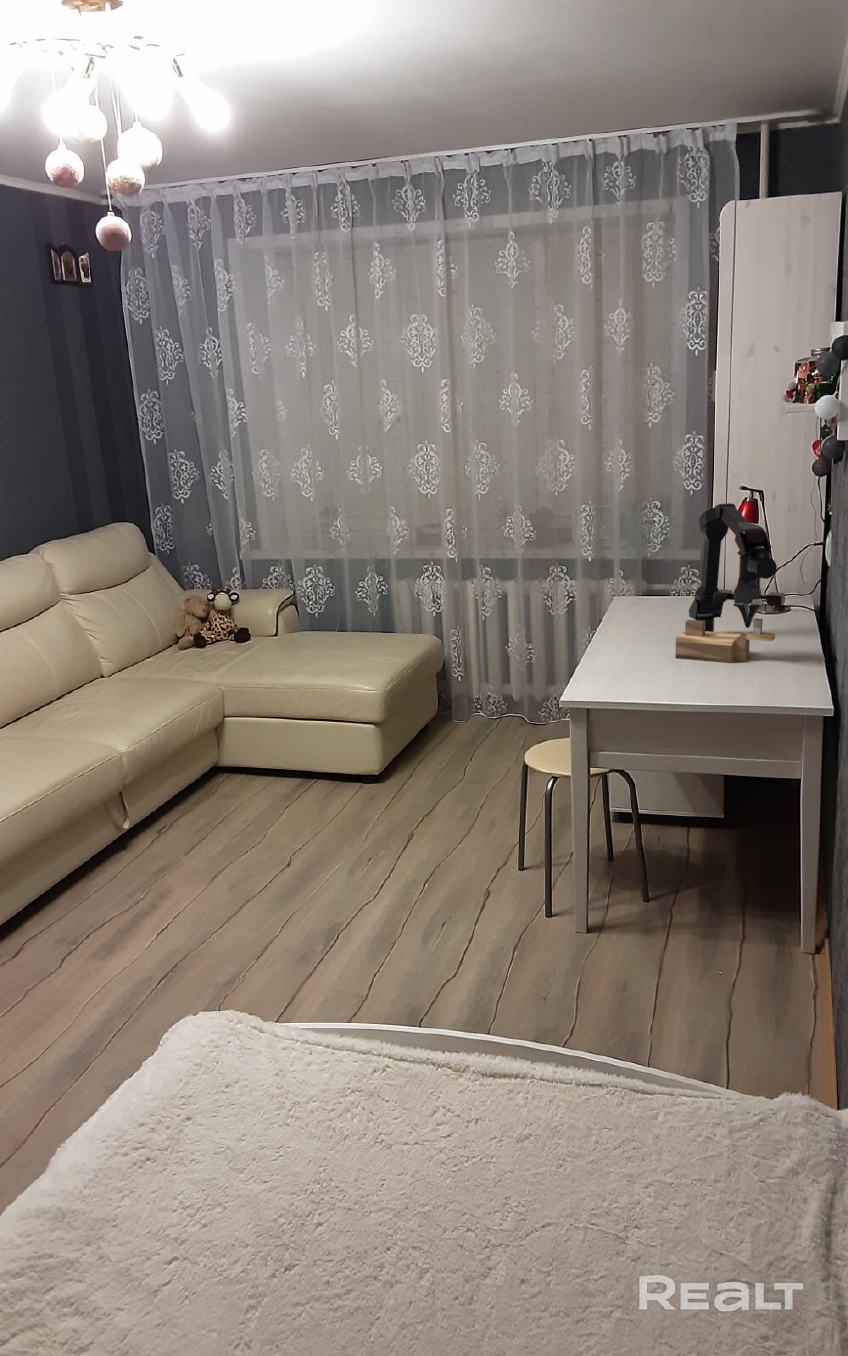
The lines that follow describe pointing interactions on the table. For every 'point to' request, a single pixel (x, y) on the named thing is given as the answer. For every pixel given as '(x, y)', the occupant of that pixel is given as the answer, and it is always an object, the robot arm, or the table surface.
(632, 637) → the table surface
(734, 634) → the lid
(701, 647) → the toolbox
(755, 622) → the block
